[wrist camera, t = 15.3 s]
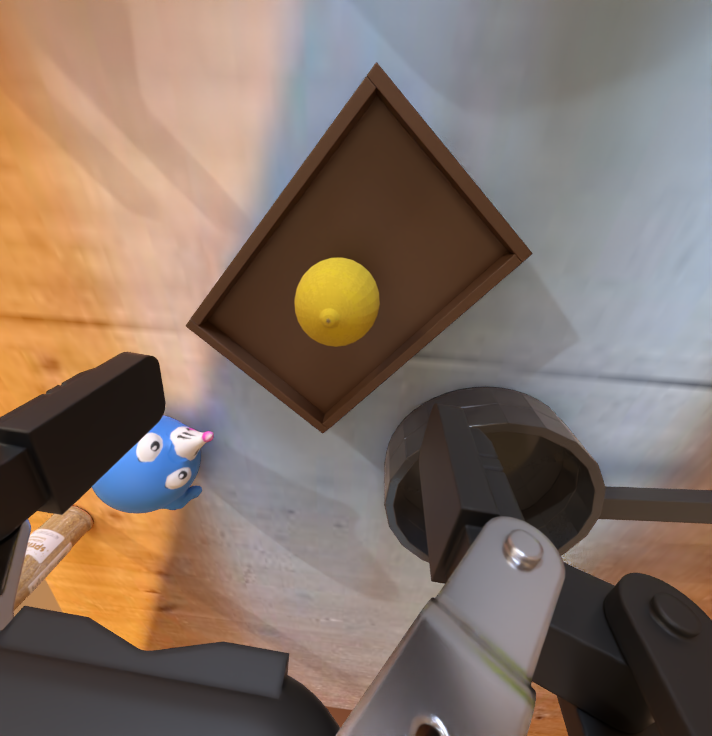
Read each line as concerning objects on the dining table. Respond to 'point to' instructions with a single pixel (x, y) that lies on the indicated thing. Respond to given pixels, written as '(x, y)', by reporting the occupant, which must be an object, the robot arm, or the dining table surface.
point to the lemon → (337, 302)
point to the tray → (360, 256)
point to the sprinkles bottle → (50, 548)
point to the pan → (519, 461)
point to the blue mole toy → (156, 470)
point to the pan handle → (657, 505)
